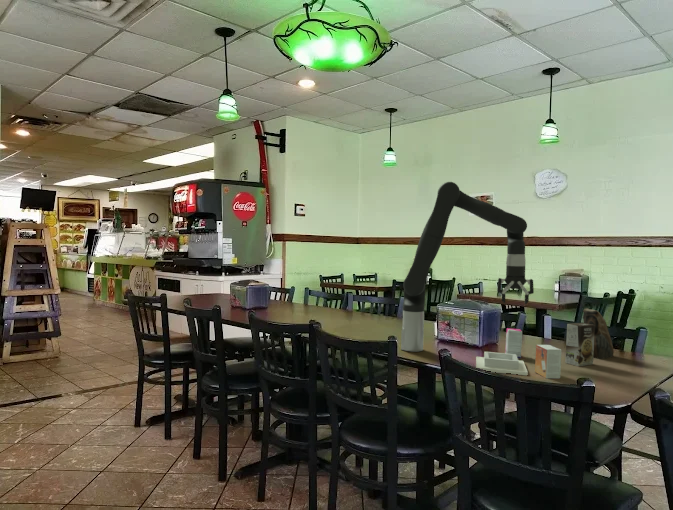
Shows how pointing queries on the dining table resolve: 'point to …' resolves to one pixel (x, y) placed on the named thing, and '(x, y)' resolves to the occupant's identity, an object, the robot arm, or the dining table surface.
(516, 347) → the supplement box
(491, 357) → the collar socket
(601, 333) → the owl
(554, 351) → the small box
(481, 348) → the dining table surface
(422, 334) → the robot arm
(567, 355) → the coffee box
